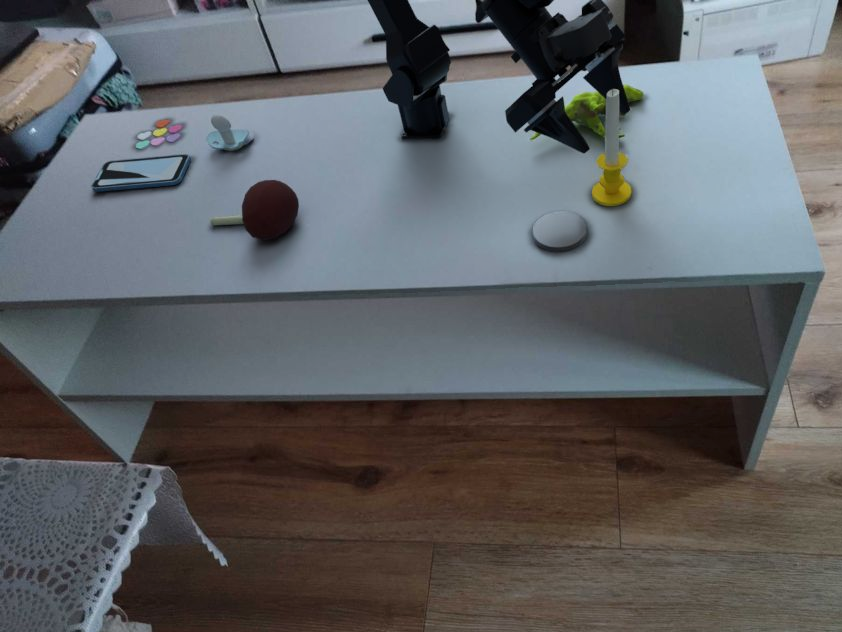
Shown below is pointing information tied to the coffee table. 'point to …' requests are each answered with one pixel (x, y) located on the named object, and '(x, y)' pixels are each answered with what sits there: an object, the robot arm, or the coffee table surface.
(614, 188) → the candle
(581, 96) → the dinosaur figurine
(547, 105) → the robot arm
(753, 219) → the coffee table surface
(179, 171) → the smartphone
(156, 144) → the candy hearts
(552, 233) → the coaster
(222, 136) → the pacifier
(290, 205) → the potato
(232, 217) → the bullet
